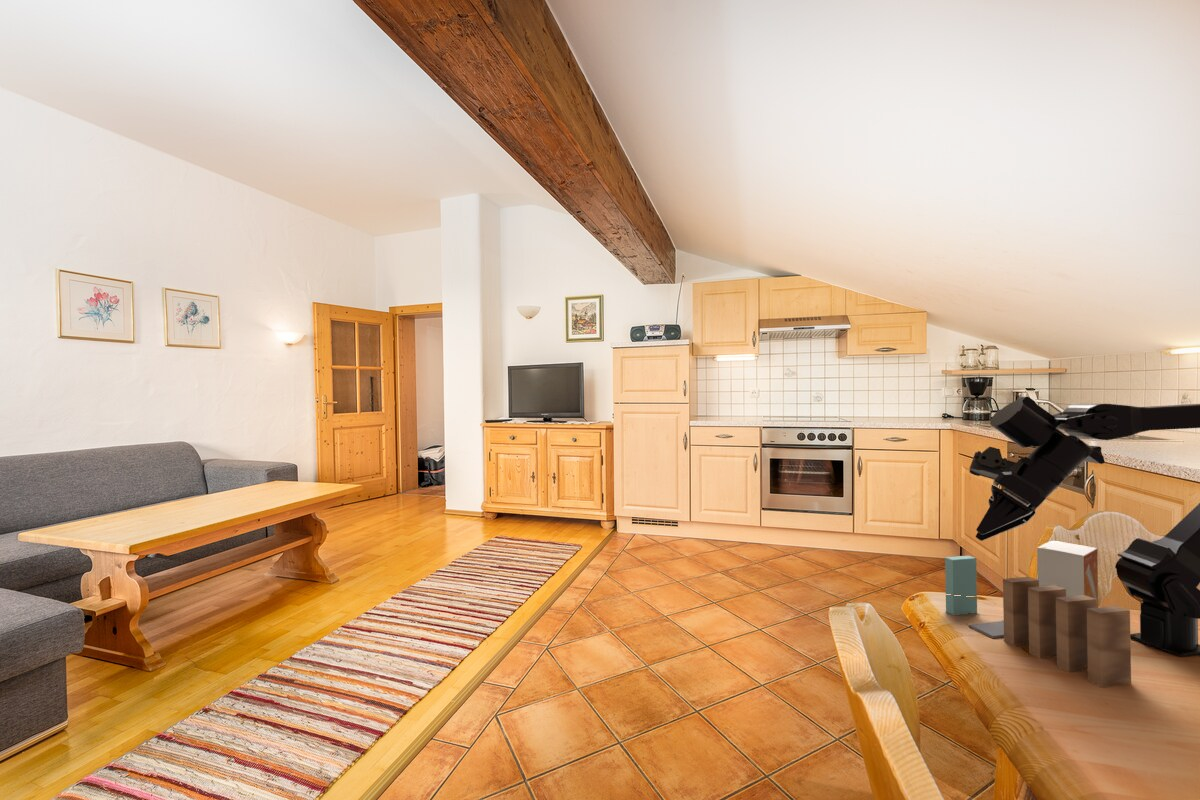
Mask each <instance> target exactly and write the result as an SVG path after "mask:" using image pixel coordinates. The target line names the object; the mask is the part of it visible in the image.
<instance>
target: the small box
mask: <svg viewBox="0 0 1200 800" xmlns="http://www.w3.org/2000/svg"><path fill="white" fill-rule="evenodd" d="M1098 554H1099V553H1098V548H1097V547H1092V546H1089V545H1088V546H1087V545H1082V544H1081V545H1080V544H1076V543H1071V542H1065V541H1057V540H1051V541H1048V542H1045V543H1043V544H1042V545H1039V546H1038V547H1036V567H1037V571H1036V573H1037V575H1036V576H1037V578H1036V579H1037V580H1039V587H1042V586H1053V585H1055V586H1058V587H1061V588H1064V589H1066V597H1067V596H1078V595H1085V596H1088V597H1091V598H1094V599H1096V608H1098V607H1099V574H1098V573H1099V572H1098V569H1099V568H1098V565H1099V563H1098V560H1099V559H1098Z"/></svg>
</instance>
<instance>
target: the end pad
mask: <svg viewBox="0 0 1200 800" xmlns="http://www.w3.org/2000/svg"><path fill="white" fill-rule="evenodd" d="M968 627H969V628H971V629H973V630H974V629H975V631H976V630H977V632H979V633H981V634H983V635H985V636H987V637H989V638H991V639H1001V638H1004V620H999V621H988V622H980V623H979V622H978V623H977V622H976V623H970V624H968Z"/></svg>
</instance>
